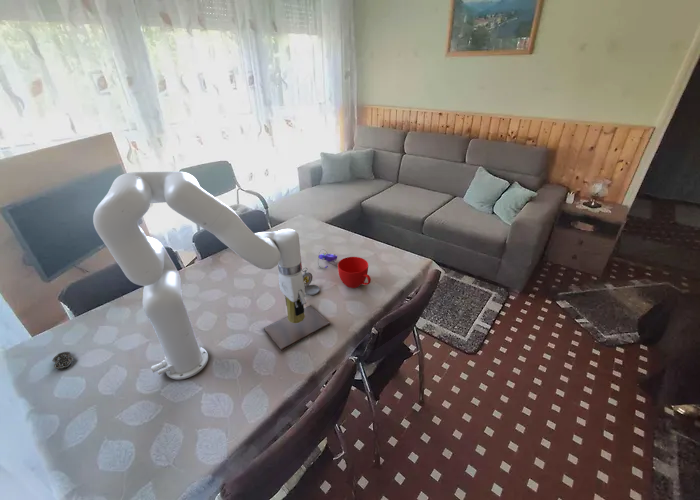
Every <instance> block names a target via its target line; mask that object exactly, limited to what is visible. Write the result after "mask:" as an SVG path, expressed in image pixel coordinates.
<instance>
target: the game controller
mask: <svg viewBox="0 0 700 500" xmlns="http://www.w3.org/2000/svg"><path fill="white" fill-rule="evenodd" d="M322 250H324V251H325V249H324V248H323V249H321V251H322ZM317 259H318V260H322V261H326V262H328V263H329V264H331V265H333V266H334V264H333V263H335V262H336V261H337V259H338V255H336V253H328V252H323V253H321V254H318V258H317ZM330 262H333V263H330ZM317 265H318V266H320V265H319V262H317ZM328 267H329V266H328V265H326V266H325V267H321V269H327V268H328ZM336 267H337V268H338V263H336Z"/></svg>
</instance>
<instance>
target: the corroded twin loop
mask: <svg viewBox="0 0 700 500" xmlns="http://www.w3.org/2000/svg"><path fill="white" fill-rule="evenodd" d="M71 354H72V353H71V351H61V352H59V353H57V354H56V355H55V356H54V357H53V358H52V360H51V361H52V363H54V365H53V368H54V369H57V370H60V369H61V370H62V369H66V368H68V367H69V366H70V365H71V363H73V362H74V356H71Z"/></svg>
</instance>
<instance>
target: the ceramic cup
mask: <svg viewBox="0 0 700 500" xmlns="http://www.w3.org/2000/svg"><path fill="white" fill-rule="evenodd" d="M337 264H338V265H337V266H338V267H337V272H338V276H339V279H340V281H341V282H342V283H343V285H345V286H346V288H349V289H356V288H359V287H360V286H361V285H362V286H363V285H364V286H368V285H369V284H370V283H371V282H372V278H371V276H370V275H369V274H368V273H369V262H368V261H367V260H366V259H365V258H363V257H359V256H348V257H344V258H342V259H340V260H339V261H338V262H337ZM366 280H367V281H368V282H365V281H366Z"/></svg>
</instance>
